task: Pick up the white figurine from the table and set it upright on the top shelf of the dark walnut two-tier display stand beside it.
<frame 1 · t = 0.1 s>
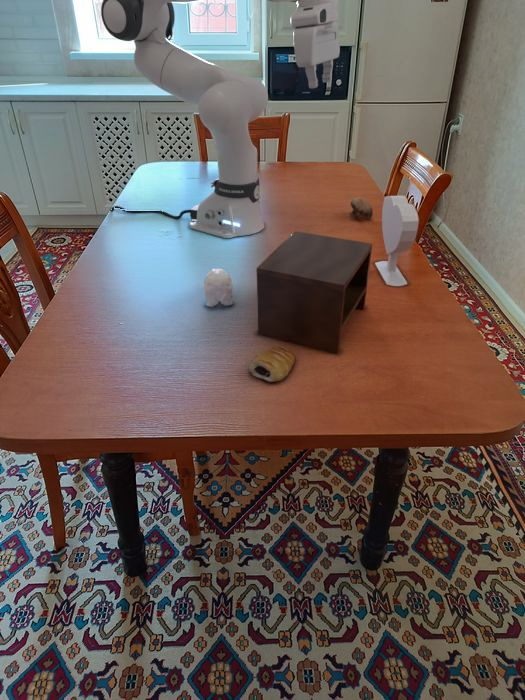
hand: (320, 85, 115), 39 cm above the table, tool pointing down, fingers open, 8 cm apart
white figurine: (219, 299, 112), on the table
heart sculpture: (390, 273, 121), on the table
shelf stand: (313, 320, 104), on the table
mushroom: (360, 218, 151), on the table
pastry: (272, 370, 90), on the table
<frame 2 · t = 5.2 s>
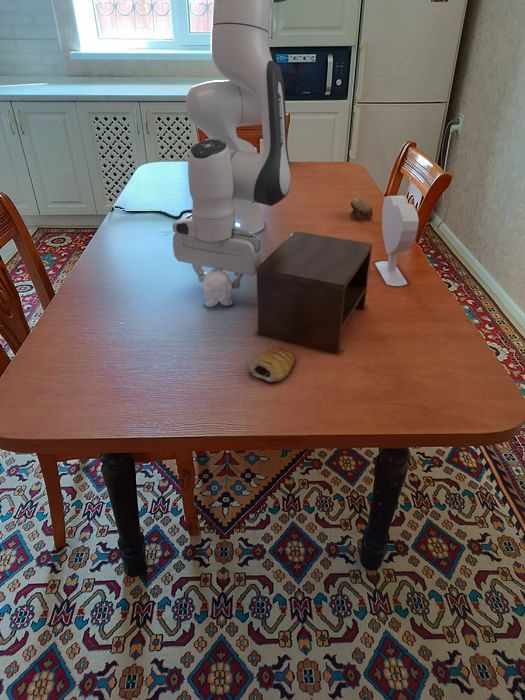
hand: (219, 284, 110), 4 cm above the table, tool pointing down, fingers closed on white figurine, 7 cm apart
white figurine: (218, 299, 112), on the table, touching gripper
everything else where it was.
when the fingers open (19 cm above the table, at t = 13.7 s): white figurine stays where it is, resting on shelf stand.
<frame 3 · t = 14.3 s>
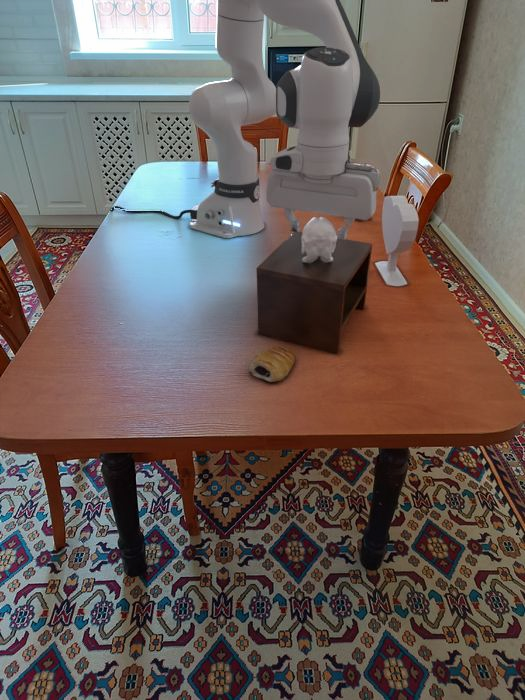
hand: (318, 234, 93), 19 cm above the table, tool pointing down, fingers open, 8 cm apart
white figurine: (315, 256, 95), point 15 cm above the table, touching shelf stand
everything else where it was.
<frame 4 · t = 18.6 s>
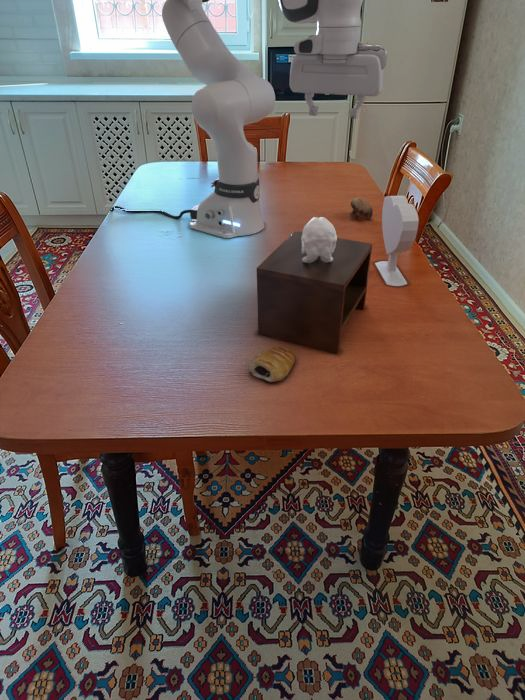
hand: (333, 116, 108), 34 cm above the table, tool pointing down, fingers open, 8 cm apart
nothing on the table moved.
at the end: white figurine inside the target area on the shelf stand (0.3 cm from its centre), point 14.8 cm above the shelf stand's base; white figurine tilted 0°; the gripper is holding nothing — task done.
